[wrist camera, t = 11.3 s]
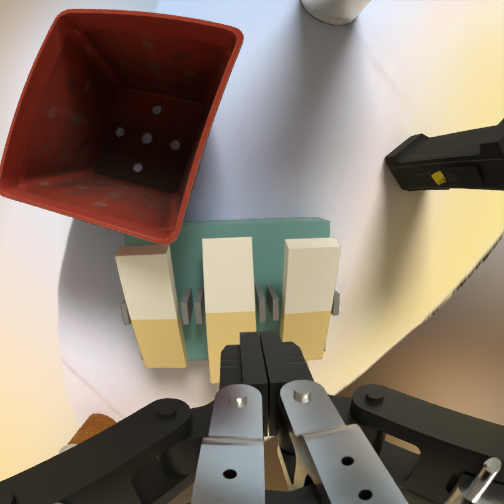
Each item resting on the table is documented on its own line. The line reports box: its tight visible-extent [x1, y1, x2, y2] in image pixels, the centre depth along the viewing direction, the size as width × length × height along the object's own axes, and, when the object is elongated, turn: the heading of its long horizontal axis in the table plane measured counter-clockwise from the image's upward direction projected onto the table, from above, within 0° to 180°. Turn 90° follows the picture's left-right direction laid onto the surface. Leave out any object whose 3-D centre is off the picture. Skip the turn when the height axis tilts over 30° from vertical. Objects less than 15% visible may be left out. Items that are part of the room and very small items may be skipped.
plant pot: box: [0, 9, 244, 245], centre depth 30 cm, size 19×19×17 cm
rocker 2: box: [202, 237, 256, 383], centre depth 33 cm, size 15×5×2 cm, turn 2°
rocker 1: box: [115, 244, 188, 368], centre depth 32 cm, size 15×5×2 cm, turn 2°
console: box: [121, 217, 340, 360], centre depth 38 cm, size 17×24×10 cm
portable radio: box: [385, 119, 504, 191], centre depth 29 cm, size 8×6×25 cm
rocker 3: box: [280, 237, 341, 361], centre depth 33 cm, size 15×5×2 cm, turn 2°
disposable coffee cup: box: [59, 414, 116, 454], centre depth 40 cm, size 10×10×12 cm
